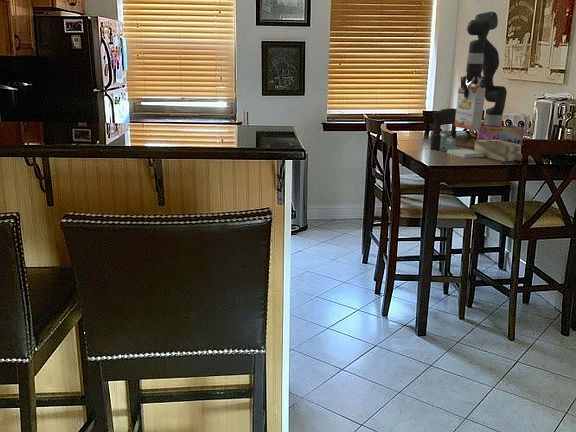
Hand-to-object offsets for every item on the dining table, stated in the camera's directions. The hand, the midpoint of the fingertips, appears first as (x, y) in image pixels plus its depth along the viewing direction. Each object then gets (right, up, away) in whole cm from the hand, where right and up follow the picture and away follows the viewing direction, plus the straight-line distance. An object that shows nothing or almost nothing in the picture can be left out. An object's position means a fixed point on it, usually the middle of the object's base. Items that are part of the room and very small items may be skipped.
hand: (471, 97), depth 285 cm
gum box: (+21, -25, +22) cm, 40 cm away
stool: (-5, -22, +31) cm, 38 cm away
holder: (+16, -29, +5) cm, 34 cm away
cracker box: (-1, -15, +5) cm, 16 cm away
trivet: (-1, -28, +8) cm, 29 cm away
